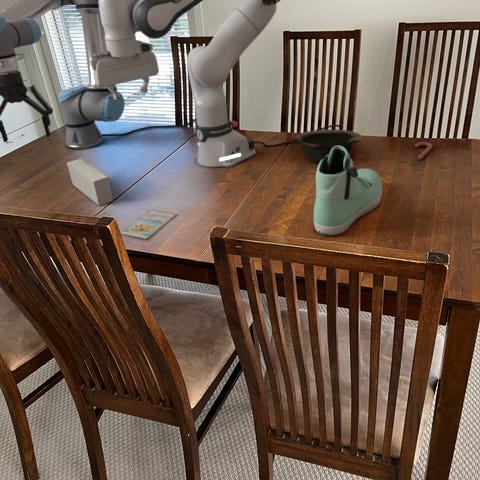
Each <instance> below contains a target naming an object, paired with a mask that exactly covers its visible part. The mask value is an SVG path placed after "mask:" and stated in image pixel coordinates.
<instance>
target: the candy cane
mask: <svg viewBox="0 0 480 480" xmlns="http://www.w3.org/2000/svg"><path fill="white" fill-rule="evenodd" d="M433 146H434V145H433V144H432V143H430V142H428V141H420V142H419V141H418V142H416V143H415V144H414V148H415V149H418V148H419V147H426V148H425V149H424V150H423V151H422V152H421V153H420V154H419V155H418V156H417V159H418V161H420V160H423V158H424V157H425V156H426V155H428V153H429V152H430V151H431V150H432V149H433Z"/></svg>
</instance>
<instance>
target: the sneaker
mask: <svg viewBox="0 0 480 480" xmlns="http://www.w3.org/2000/svg"><path fill="white" fill-rule="evenodd" d="M317 165H318V166H317V168H316V172H315V201H314V207H313V225H314V229H315V231H316V232H318V233H320V234H323V235H326V236H327V235H328V236H336V235H339V234H342V233H344V232H345V231H347V230H348V229H349V228H350V227H351V226H352V225H353V224H354V222H356V221H357V220H358V219H359V218H360V217H362V216H363V215H365V214H367V213H370V212H372V210H374V209H375V208H377V207H378V205H380V203H381V200H382V196H383V184H382V183H383V182H382V179H381V176H380V175H379V173H378V172H377V171H376V170H374V169H372V168H367V167H365V168H358V169H357V168H355V167H354V161H353V159H352V158H351V155H350V156H349V153H348V152H347V150H346V149H345V148H344V147H342V146H334V147H333V148H332V149H331V152H330V154H329V155H327V156H326V157H325V158H324V159H322V160H321V161H320V163H318V164H317ZM343 230H344V231H343ZM319 231H320V232H319ZM322 232H323V233H322ZM339 232H340V233H339ZM326 233H327V234H326ZM328 233H329V234H328ZM335 233H337V234H335Z"/></svg>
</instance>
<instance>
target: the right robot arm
mask: <svg viewBox="0 0 480 480" xmlns="http://www.w3.org/2000/svg"><path fill="white" fill-rule="evenodd" d="M203 1H204V0H99V11H100V17H101V22H102V25H103V27H104V30H105V42H106V47H107V52H102V53H96V54H94V56H92V58H91V66H92V68H93V75H94V82H95V84H96V85H97V86H99V87H107V86H108V89H109V90H110V91H111V93H112V94H113V98H114V99H115V100H118V99H120V93H121V92H119V93H116V92H115V90H114V89H115V86H114V85H116V86H117V85H120V84H124V83H129V82H132V81H137V80H141V81H143V83H142V85H141V86H140V93H141V94H147V93H148V92H149V91H148V90H149V89H148V86H149V83H150V78H151V77H156V76H158V74H159V72H160V69H159V63H158V59H157V56H156V54H155V53H154V52H153V51H154V46H153V44H152V43H150V42H147V41H142V40H137V36H136V33H139V32H140V33H142V34H143V35H144V36H145V37H148V38H149V39H160V38H163V37H165V36H166V35H167V34H169V32H170V31H171V30H172V28H173V26H174V25H175V23H177V21H178V19H179V18H180V17H182V16H183V15H185V14H186V13H188V12H189V11H191V10H192V9H193V8H194V7H196V6H197V5H199V4H200V3H202V2H203ZM280 2H281V0H242V1H241V2H240V3H239V5H238V6H236V8H235V9H234V10H233V11H232V12H231V13H230V15H228V16H227V17H226V18H225V20H223V22H222V23H221V24H220V25H219V27H218V28H217V31H216V32H215V34H214V36H213V38H212V39H211V41H210V42H209V43H208V45H207V46H206V45H200V46H196V47H194V48H192V49H191V50H190V51H189V53H188V55H187V58H186V66H187V71H188V77H189V83H190V87H191V92H192V97H193V102H194V110H195V119H197V121H196V123H195V128H196V129H195V131H196V137H197V141H198V142H197V145H198V147H197V148H198V149H197V157H196V163H197V164H198V165H200V166H202V167H203V166H204V167H210V168H215V167H228V168H229V167H234V165H237V164H239V163H240V162H243V161H244V160H247V159H248V158H251V157H252V156H255V155H256V150H255V148H256V147H255V146H256V145H255V144H261V145H262V146H263V147H265V148H275V147H279V146H283V145H288V144H293V143H294V144H295V143H297V142H296V141H294V140H290V141H285V142H280V143H277V144H265V142H264V141H261V140H260V141H259V140H256V141H255V140H254V139H252V138H251V137H248V138H247V137H246V136H245V135H244V134H242V133H240V132H238V131H237V130H235V129H234V128H236V127H237V126H238V121H235V120H229V118H228V109H227V107H228V106H227V97H226V95H225V91H224V87H223V84H225V82H226V81H227V79H228V77H229V74H230V73H231V71H232V70H233V68H234V66H235V65H236V63H237V62H238V60H240V58H241V56H242V54H244V52H245V51H246V50H247V49H248V47H249V46H250V45H251V44H252V43H253V42H254V41H255V40H256V39H257V38H258V37H259V35H260V34H261V33H262V32H263V31H264V30H265V29H266V28H267V26H268V25H269V24H270V22H271V21H272V19H273V18H274V16H275V14H276V12H277V9H278V7H277V4H278V3H280ZM94 57H95V58H94ZM233 127H234V128H233ZM334 127H337V128H340V129H344V127H343V126H342V125H340V124H331V125H327V126H324V127H323V126H322V127H319V128H317V129H316V130H317V131H318V130H327V129H329V128H334Z"/></svg>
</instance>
